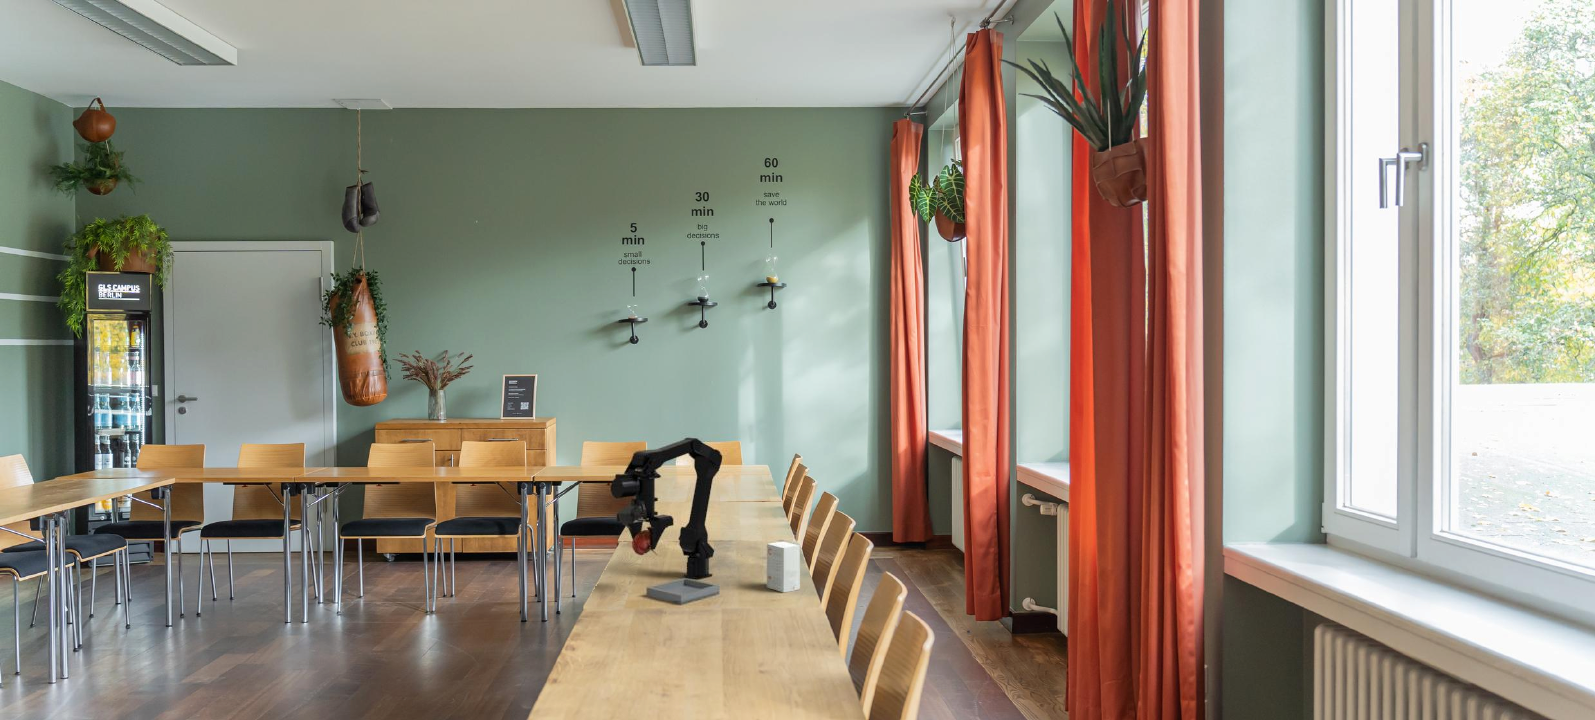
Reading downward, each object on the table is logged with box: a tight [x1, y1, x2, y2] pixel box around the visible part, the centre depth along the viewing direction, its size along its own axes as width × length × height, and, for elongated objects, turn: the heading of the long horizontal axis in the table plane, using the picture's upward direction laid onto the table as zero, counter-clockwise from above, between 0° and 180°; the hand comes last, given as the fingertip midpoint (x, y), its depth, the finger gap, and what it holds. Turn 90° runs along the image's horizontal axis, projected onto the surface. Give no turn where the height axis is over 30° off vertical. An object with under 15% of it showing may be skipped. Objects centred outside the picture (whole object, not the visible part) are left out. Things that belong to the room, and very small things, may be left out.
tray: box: [646, 577, 720, 605], centre depth 267 cm, size 15×14×2 cm
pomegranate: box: [630, 529, 658, 556], centre depth 274 cm, size 7×7×10 cm
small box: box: [766, 541, 801, 593], centre depth 275 cm, size 8×6×13 cm
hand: (644, 547), depth 274 cm, fingers closed on pomegranate, 7 cm apart
